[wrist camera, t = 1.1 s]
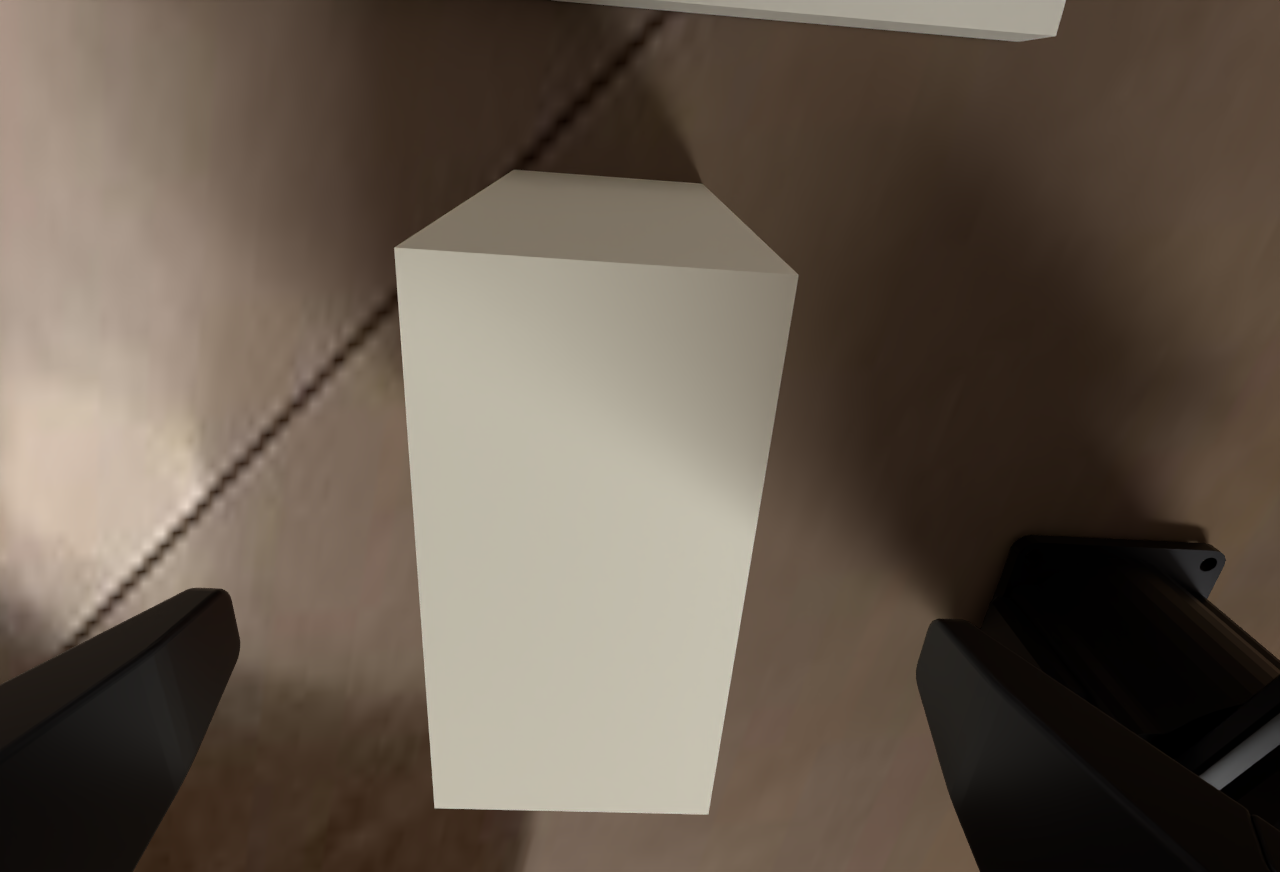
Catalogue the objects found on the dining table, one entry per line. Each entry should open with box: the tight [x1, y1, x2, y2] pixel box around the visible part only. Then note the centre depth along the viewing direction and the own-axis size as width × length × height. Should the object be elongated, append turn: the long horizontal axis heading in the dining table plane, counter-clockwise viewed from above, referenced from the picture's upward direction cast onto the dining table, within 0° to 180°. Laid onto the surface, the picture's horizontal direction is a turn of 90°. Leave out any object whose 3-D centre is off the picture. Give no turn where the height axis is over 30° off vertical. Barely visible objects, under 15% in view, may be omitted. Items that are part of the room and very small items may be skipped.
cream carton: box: [394, 170, 799, 814], centre depth 14 cm, size 5×9×10 cm, turn 176°
